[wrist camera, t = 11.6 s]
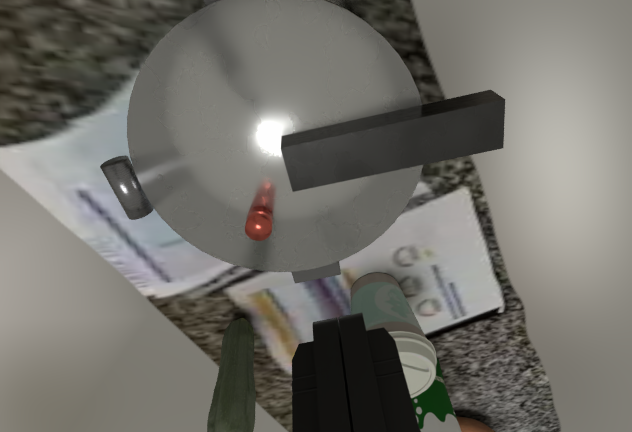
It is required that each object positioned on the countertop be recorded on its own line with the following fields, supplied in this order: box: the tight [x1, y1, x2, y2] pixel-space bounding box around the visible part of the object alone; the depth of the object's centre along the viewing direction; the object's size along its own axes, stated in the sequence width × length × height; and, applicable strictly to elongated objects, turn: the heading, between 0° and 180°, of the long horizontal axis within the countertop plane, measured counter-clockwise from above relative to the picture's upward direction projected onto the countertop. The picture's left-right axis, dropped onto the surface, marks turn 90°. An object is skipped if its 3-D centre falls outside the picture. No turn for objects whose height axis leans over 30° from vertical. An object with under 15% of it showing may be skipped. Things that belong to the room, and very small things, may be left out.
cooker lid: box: [100, 0, 505, 272], centre depth 26 cm, size 19×25×4 cm
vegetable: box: [207, 318, 256, 432], centre depth 41 cm, size 4×4×20 cm
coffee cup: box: [351, 273, 437, 398], centre depth 43 cm, size 8×8×12 cm
